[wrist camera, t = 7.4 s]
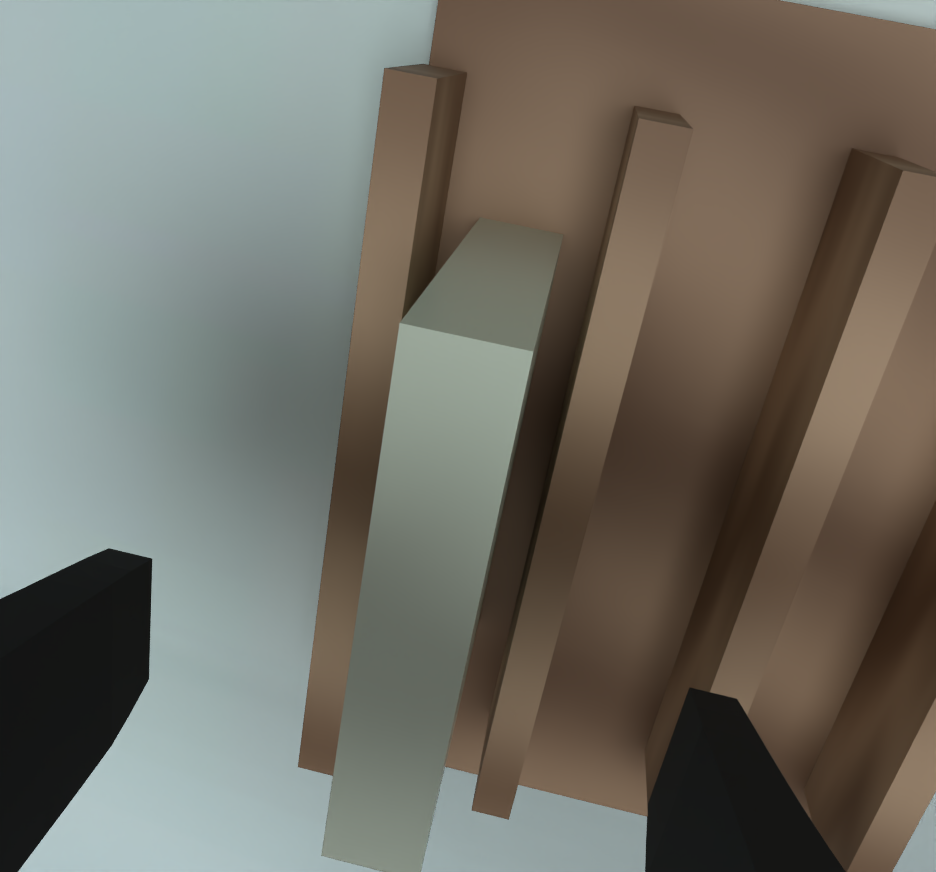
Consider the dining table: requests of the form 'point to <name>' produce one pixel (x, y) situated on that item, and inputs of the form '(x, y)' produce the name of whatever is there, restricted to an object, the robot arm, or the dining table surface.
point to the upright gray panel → (434, 535)
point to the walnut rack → (678, 395)
